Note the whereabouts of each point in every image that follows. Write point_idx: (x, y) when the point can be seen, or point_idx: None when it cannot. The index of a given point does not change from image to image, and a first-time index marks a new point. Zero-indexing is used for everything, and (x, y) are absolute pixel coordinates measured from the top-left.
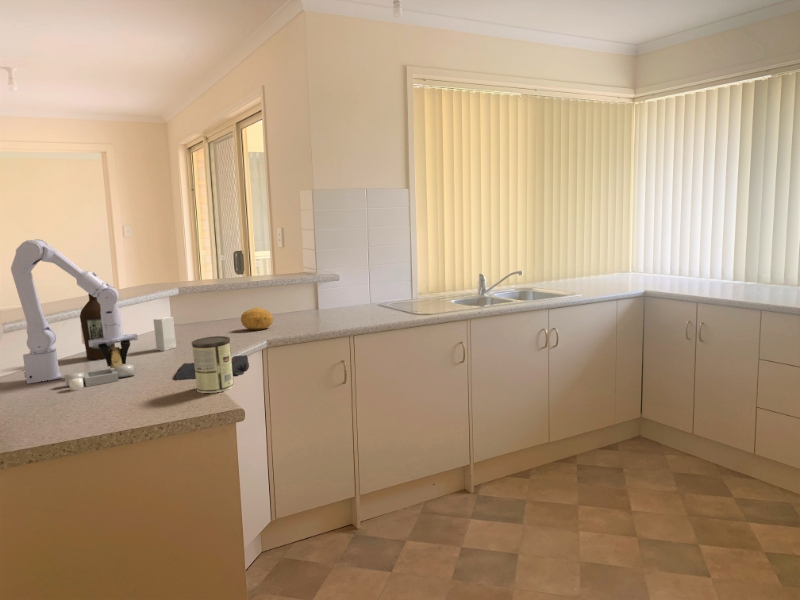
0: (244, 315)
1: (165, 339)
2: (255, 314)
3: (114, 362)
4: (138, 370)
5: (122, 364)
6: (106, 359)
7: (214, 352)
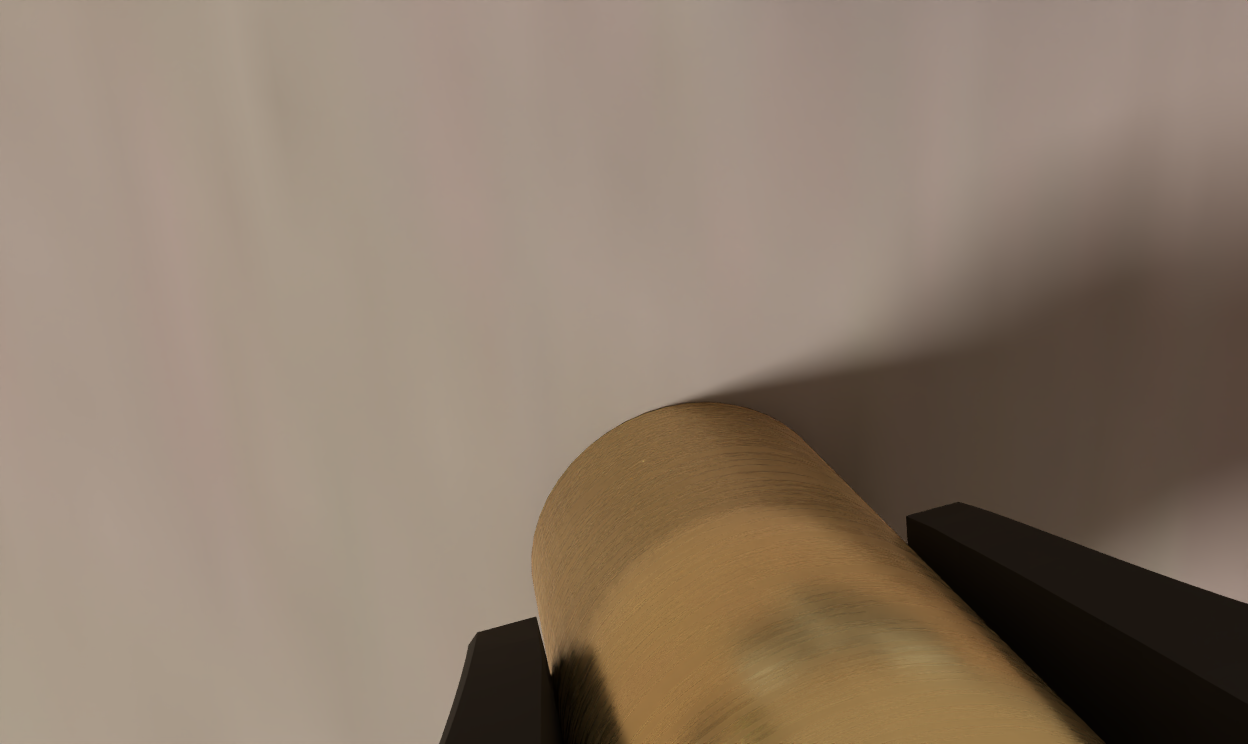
0: None
1: None
2: None
3: (840, 531)
4: (50, 242)
5: (569, 592)
6: (1184, 585)
7: None
